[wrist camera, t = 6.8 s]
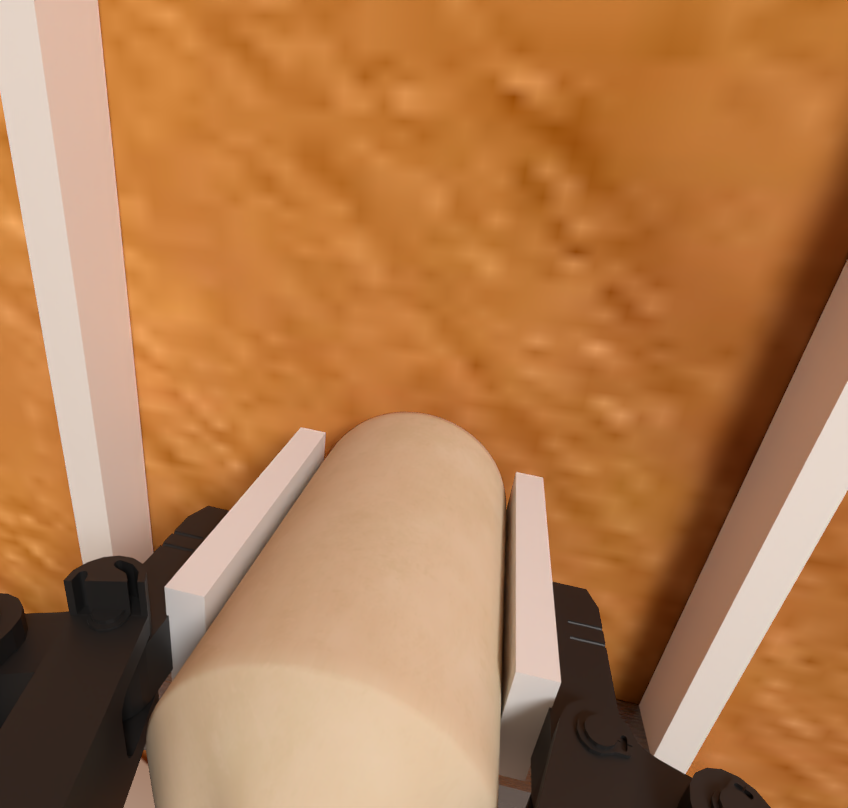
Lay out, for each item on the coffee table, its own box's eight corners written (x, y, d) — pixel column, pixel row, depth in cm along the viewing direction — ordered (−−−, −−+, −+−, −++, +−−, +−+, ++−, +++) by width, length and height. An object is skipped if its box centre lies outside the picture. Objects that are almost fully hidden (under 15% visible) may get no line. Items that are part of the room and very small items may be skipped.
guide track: (646, 763, 21) (674, 889, 17) (136, 638, 22) (63, 728, 19) (1055, -35, 10) (1357, -151, 6) (34, -146, 12) (-174, -284, 8)
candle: (456, 593, 17) (387, 1071, 8) (301, 520, 17) (47, 920, 8) (542, 462, 15) (585, 923, 6) (363, 375, 14) (107, 703, 5)
